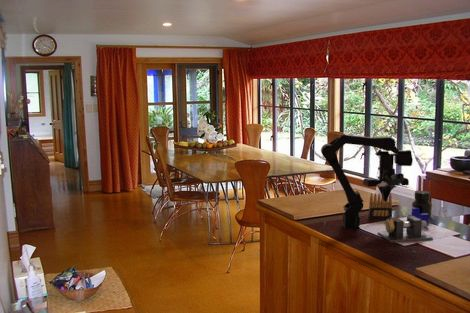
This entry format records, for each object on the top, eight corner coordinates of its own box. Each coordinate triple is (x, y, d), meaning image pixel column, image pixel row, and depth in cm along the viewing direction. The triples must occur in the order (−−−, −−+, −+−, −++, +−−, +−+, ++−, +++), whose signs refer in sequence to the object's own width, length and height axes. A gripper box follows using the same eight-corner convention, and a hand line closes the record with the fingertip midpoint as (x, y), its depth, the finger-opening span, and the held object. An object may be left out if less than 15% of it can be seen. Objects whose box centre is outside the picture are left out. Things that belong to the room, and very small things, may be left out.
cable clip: (408, 220, 235) (408, 207, 234) (417, 220, 235) (418, 207, 235) (417, 227, 223) (418, 214, 223) (427, 227, 223) (428, 214, 223)
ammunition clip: (391, 217, 240) (391, 192, 238) (392, 218, 238) (393, 193, 237) (368, 217, 240) (369, 192, 239) (369, 218, 239) (370, 193, 237)
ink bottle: (411, 213, 247) (412, 189, 245) (431, 215, 244) (432, 190, 242) (411, 218, 238) (412, 193, 236) (431, 220, 235) (432, 194, 233)
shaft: (391, 234, 205) (392, 221, 204) (385, 230, 210) (385, 217, 210) (428, 232, 208) (429, 219, 207) (421, 228, 213) (421, 215, 213)
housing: (391, 242, 202) (392, 223, 201) (377, 233, 214) (378, 216, 213) (432, 239, 205) (433, 221, 204) (416, 231, 217) (417, 214, 216)
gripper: (374, 169, 209) (373, 206, 211) (416, 168, 212) (414, 204, 215) (363, 165, 220) (362, 200, 222) (402, 164, 223) (401, 198, 226)
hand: (385, 201), depth 221 cm, fingers closed
